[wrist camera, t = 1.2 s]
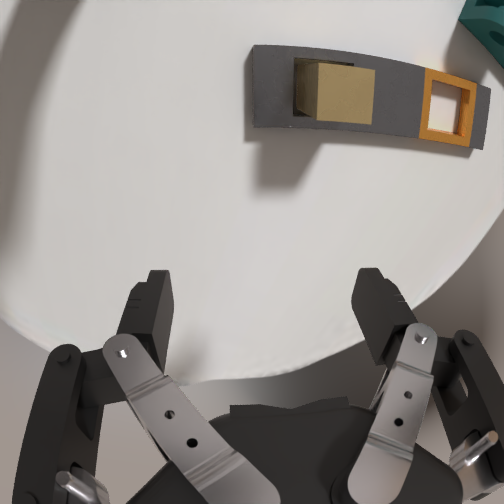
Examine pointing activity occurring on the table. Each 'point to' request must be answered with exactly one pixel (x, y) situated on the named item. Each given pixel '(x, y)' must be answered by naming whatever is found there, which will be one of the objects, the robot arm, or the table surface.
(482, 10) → the bracket
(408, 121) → the rail
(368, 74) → the block
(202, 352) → the table surface
